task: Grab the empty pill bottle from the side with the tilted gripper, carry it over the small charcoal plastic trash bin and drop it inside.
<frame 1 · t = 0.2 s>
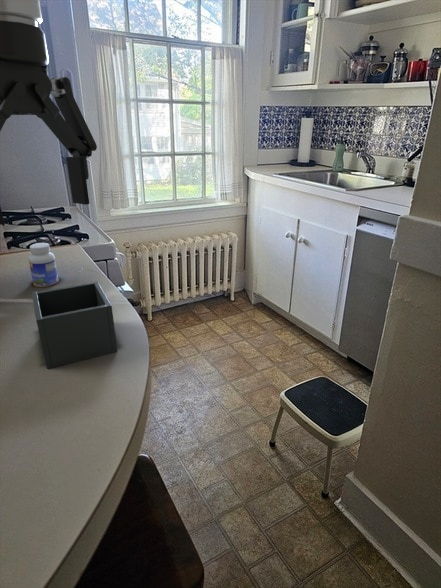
hand: (42, 212, 53), 24 cm above the table, tool pointing down, fingers open, 13 cm apart
trash bin: (78, 343, 68), on the table
pill bottle: (47, 286, 91), on the table
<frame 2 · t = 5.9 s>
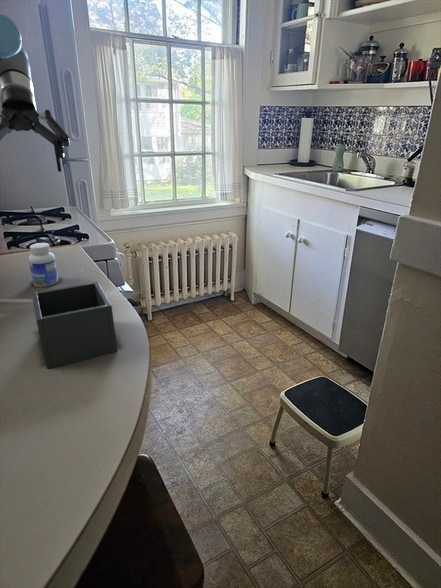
hand: (27, 169, 89), 25 cm above the table, tool tilted 45°, fingers open, 13 cm apart
nothing on the table moved.
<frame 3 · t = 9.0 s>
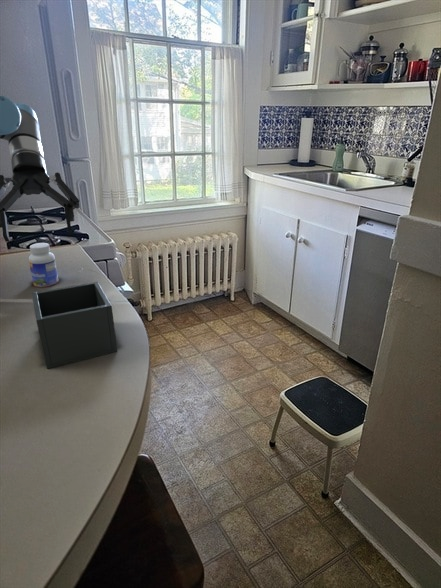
hand: (39, 235, 90), 11 cm above the table, tool tilted 45°, fingers open, 13 cm apart
nothing on the table moved.
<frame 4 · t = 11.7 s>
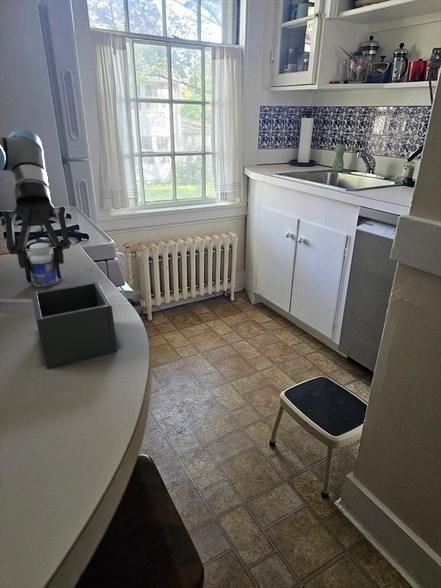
hand: (44, 277, 86), 3 cm above the table, tool tilted 45°, fingers closed on pill bottle, 5 cm apart
pill bottle: (47, 286, 91), on the table, touching gripper
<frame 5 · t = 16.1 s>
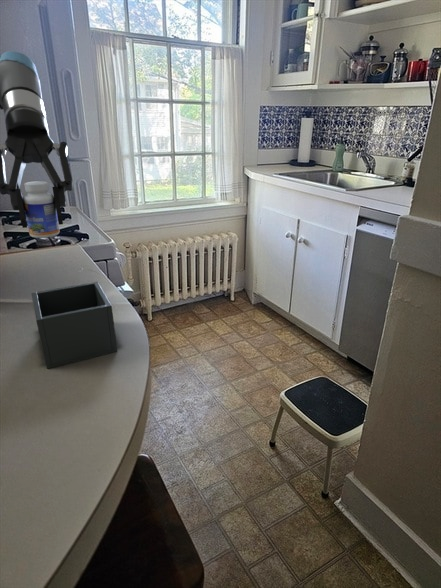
hand: (42, 221, 71), 18 cm above the table, tool tilted 45°, fingers closed on pill bottle, 5 cm apart
pill bottle: (45, 235, 75), point 15 cm above the table, touching gripper
when the fingers open (10 cm above the table, at t = 20.7 s): pill bottle drops 6 cm, resting on trash bin.
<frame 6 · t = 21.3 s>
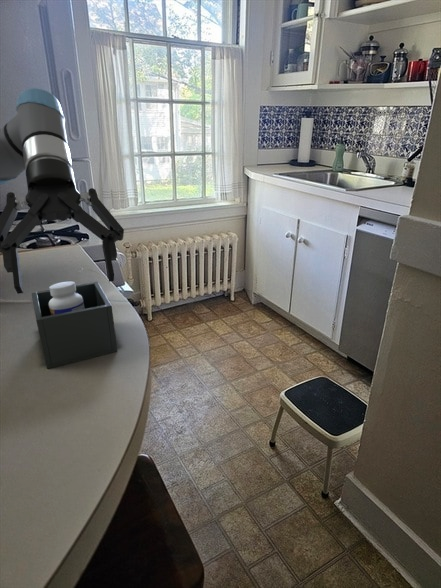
hand: (67, 284, 61), 12 cm above the table, tool tilted 45°, fingers open, 13 cm apart
pill bottle: (75, 339, 67), point 1 cm above the table, touching trash bin
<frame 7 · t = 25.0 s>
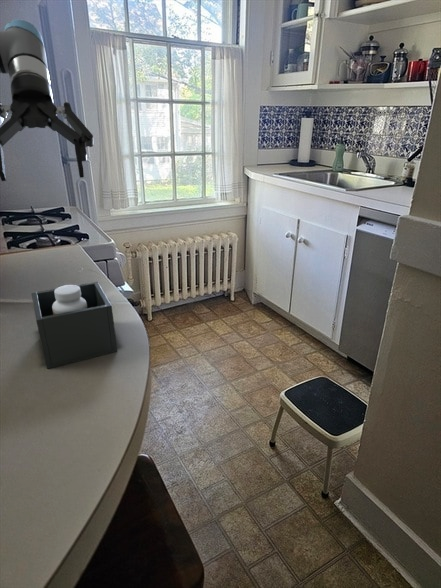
hand: (43, 174, 73), 26 cm above the table, tool tilted 45°, fingers open, 13 cm apart
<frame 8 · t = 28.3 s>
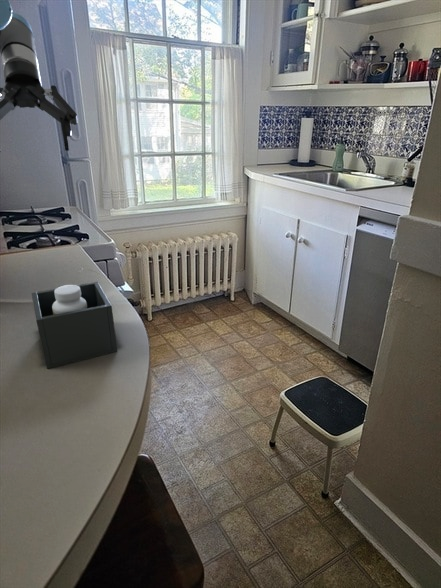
hand: (32, 147, 83), 30 cm above the table, tool tilted 45°, fingers open, 13 cm apart
nothing on the table moved.
at the end: pill bottle inside the target area in the trash bin (0.3 cm from its centre), point 0.4 cm above the trash bin's base; the gripper is holding nothing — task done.
